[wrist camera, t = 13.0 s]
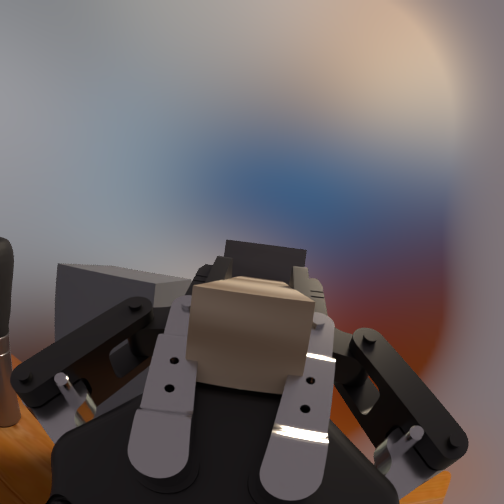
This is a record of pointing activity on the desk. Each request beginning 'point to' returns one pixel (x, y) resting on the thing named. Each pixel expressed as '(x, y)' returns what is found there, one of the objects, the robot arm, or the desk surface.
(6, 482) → the desk surface
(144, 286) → the stand
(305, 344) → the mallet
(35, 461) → the desk surface
